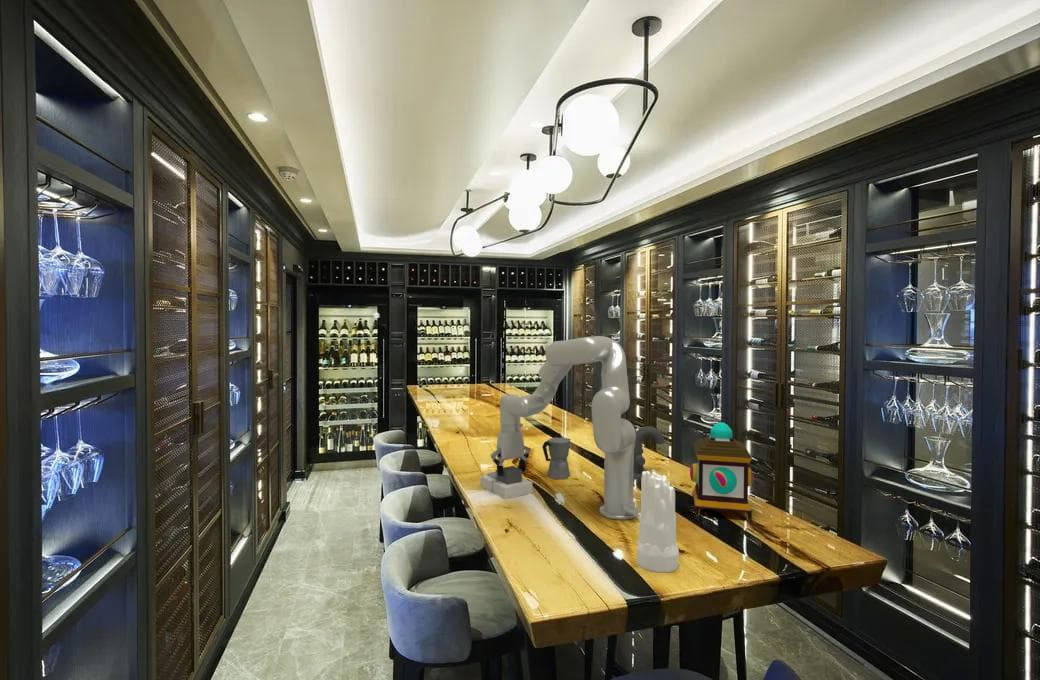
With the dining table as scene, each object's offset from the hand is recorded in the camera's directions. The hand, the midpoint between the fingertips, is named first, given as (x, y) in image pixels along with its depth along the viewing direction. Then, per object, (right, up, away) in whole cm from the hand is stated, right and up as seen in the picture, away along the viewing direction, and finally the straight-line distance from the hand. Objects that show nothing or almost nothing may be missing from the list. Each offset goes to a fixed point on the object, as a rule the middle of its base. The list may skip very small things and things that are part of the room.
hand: (511, 473), depth 198 cm
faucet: (+56, -6, +24) cm, 61 cm away
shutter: (-5, -3, +7) cm, 9 cm away
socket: (-2, -7, +3) cm, 8 cm away
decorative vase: (+40, -9, -58) cm, 71 cm away
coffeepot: (+18, -7, +19) cm, 27 cm away
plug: (-1, -6, 0) cm, 6 cm away
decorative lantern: (+71, -8, -19) cm, 74 cm away
